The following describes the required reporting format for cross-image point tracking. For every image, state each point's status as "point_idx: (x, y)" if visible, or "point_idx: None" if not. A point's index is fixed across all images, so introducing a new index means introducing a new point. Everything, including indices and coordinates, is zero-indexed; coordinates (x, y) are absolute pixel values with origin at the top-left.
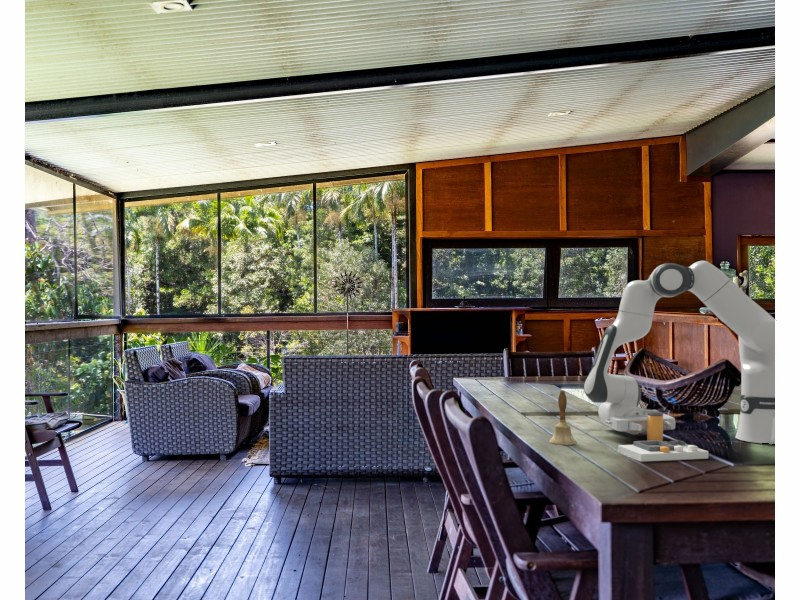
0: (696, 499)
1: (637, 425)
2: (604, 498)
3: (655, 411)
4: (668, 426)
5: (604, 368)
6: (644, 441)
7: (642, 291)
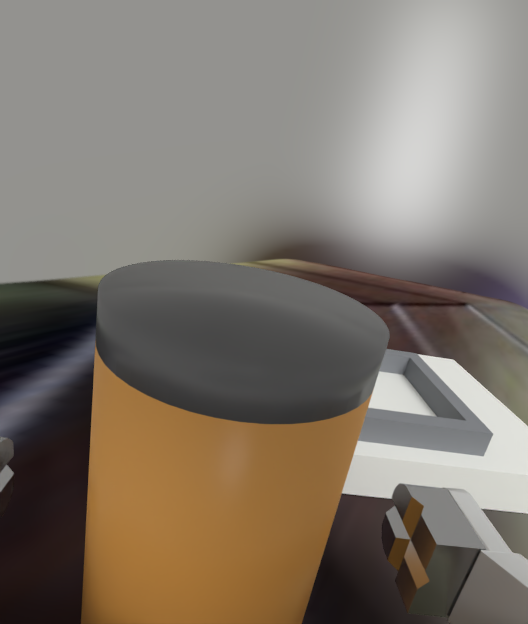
0: (385, 279)
1: (499, 559)
2: (518, 308)
3: (151, 325)
4: (8, 456)
5: None
6: (419, 415)
7: None
